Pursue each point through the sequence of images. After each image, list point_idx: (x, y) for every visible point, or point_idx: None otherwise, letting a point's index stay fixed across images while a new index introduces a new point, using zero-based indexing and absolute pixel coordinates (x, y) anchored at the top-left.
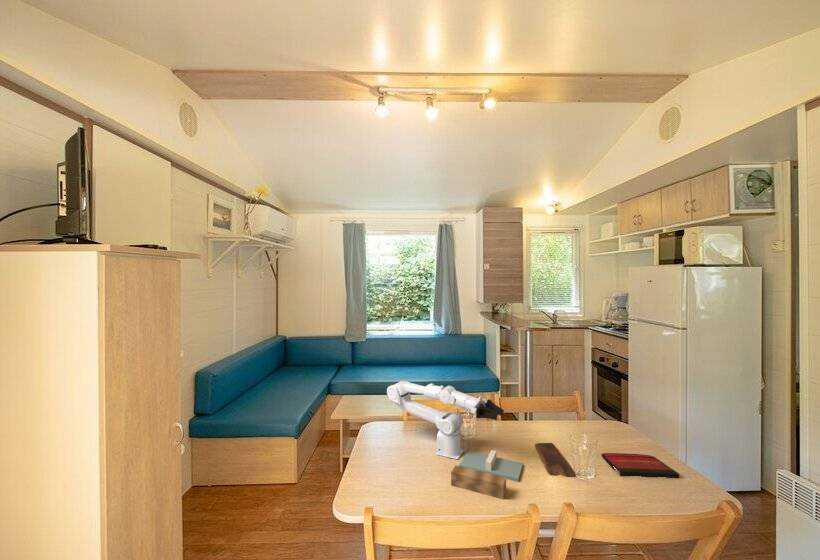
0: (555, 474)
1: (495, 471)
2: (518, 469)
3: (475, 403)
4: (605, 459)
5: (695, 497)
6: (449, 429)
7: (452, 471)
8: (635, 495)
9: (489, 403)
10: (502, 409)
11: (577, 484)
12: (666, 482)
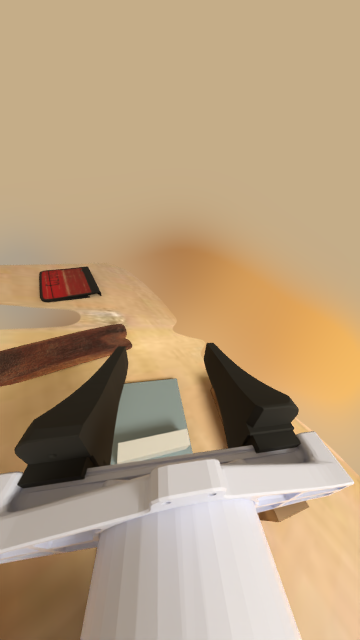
0: (129, 341)
1: (178, 423)
2: (146, 385)
3: (290, 486)
4: (60, 299)
5: (118, 271)
6: None
7: (303, 504)
8: (134, 293)
9: (97, 417)
10: (119, 348)
11: (139, 323)
12: (100, 276)
